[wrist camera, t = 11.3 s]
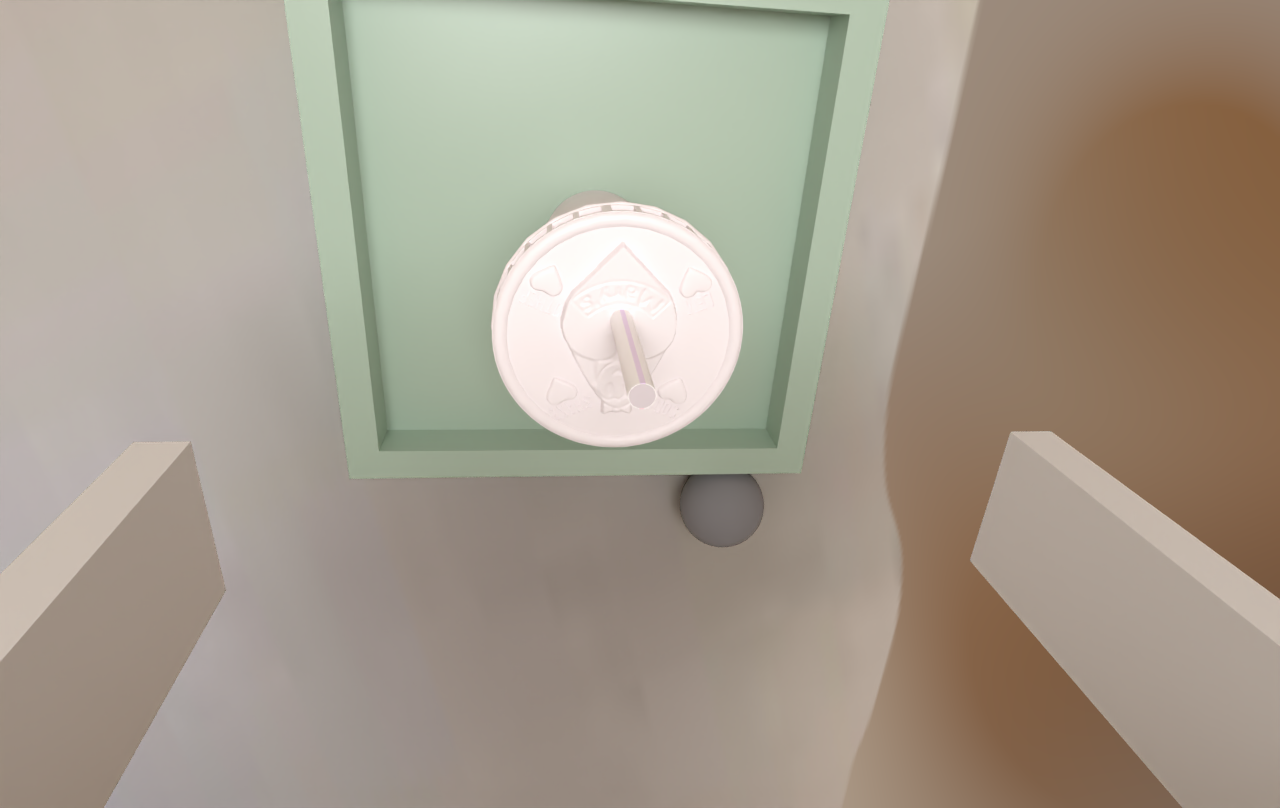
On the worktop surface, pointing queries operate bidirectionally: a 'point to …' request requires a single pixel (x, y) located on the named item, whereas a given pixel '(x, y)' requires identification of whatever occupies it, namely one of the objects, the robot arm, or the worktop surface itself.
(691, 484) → the gray ball
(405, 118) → the tray
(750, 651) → the worktop surface
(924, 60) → the worktop surface
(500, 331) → the smoothie
